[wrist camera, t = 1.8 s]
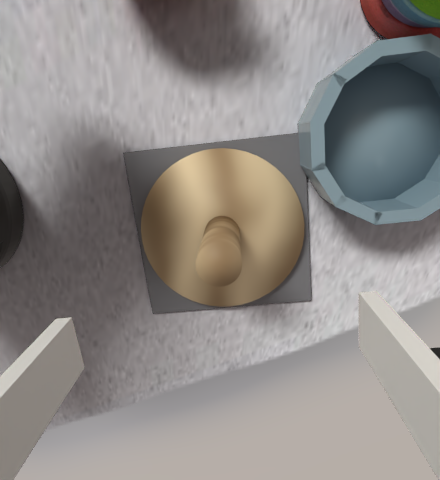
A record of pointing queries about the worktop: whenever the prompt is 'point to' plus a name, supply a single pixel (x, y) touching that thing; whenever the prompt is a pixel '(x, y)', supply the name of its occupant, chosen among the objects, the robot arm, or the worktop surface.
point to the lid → (222, 227)
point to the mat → (268, 148)
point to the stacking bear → (403, 17)
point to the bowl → (378, 132)
